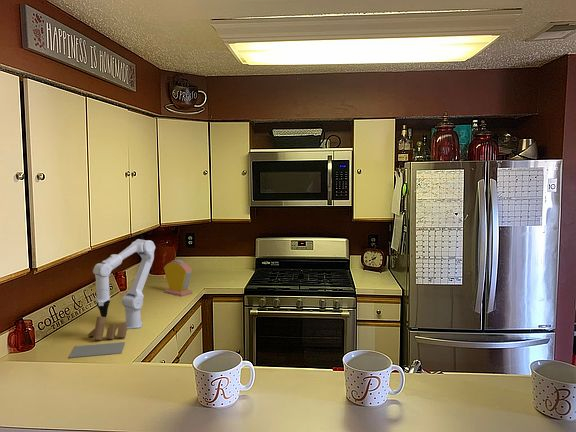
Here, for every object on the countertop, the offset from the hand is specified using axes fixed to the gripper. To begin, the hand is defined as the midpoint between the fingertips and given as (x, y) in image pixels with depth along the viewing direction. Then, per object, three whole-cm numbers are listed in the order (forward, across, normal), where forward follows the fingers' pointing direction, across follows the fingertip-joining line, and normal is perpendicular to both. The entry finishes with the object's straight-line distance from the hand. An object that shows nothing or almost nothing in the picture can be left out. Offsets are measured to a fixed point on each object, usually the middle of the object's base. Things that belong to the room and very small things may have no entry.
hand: (104, 316), depth 223 cm
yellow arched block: (+9, -72, +34) cm, 80 cm away
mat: (+9, +20, 0) cm, 22 cm away
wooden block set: (+9, +5, +1) cm, 11 cm away
